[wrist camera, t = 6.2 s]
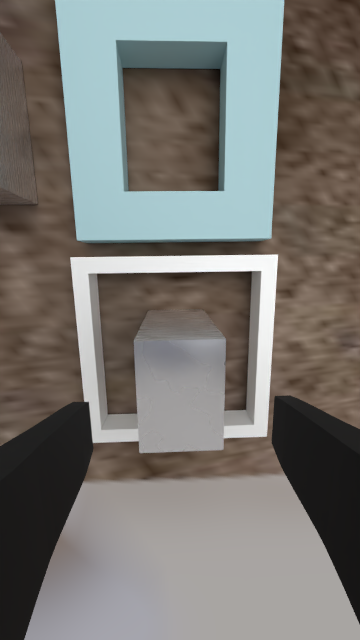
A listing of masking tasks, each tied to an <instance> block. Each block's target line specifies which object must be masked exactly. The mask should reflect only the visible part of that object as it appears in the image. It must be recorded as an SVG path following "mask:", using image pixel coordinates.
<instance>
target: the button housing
mask: <svg viewBox="0 0 360 640" xmlns="http://www.w3.org/2000/svg"><path fill="white" fill-rule="evenodd" d="M27 204H38V199H37V191H36V182H35V174H34V165H33V156H32V148H31V139H30V131H29V122H28V114H27V105H26V96H25V88H24V79H23V71H22V62H21V60H20V59H19V58H18V56H17V55H16V54H15V52H14V51H13V49H12V48H11V47H10V45H9V44H8V43H7V41H6V40H5V39H4V37H3V36H2V34H1V33H0V205H27Z"/></svg>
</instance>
